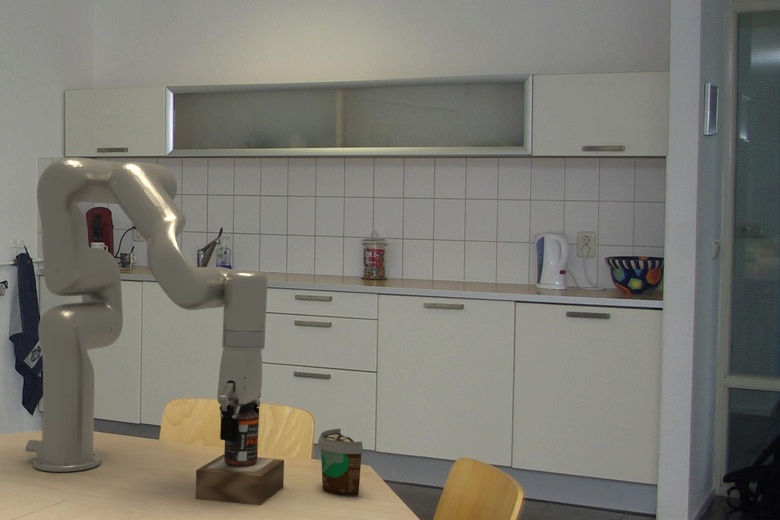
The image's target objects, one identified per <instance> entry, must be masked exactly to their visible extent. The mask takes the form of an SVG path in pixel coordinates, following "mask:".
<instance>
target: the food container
mask: <svg viewBox="0 0 780 520" xmlns="http://www.w3.org/2000/svg"><path fill="white" fill-rule="evenodd" d="M316 445H317V448H318V449H320V460H321V461H320V462H321V478H322V479H321V480H322V482H321V483H322V490H323V491H324V492H325V493H327V494H330V495H336V496H342V497H356V496H357V495H360V484H361V483H360V478H361V468H362V467H361V464H362V463H361V461H362V454H364V448H363V447H364V446H363V441H354V440H353V439H352V438H351V437H349V436H345V435H343V434H341V428H333V429H327V430H324V431H322V432H320V435H319V437H318V441H317V444H316Z"/></svg>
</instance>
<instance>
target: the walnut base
mask: <svg viewBox="0 0 780 520" xmlns="http://www.w3.org/2000/svg"><path fill="white" fill-rule="evenodd" d="M284 473H285V459H280V458H279V459H278V458H270V457H268V458H267V457H258V456H257V462H256V463H255V464H253V465H249V466H232V465H228V464H226V463H225V461H224V453H223V454H222V455H220V456H218V457H216V458H215V459H213V460H211V461H210V462H208V463H206V464H204V465H203V466H201V467H199V468H197V469H196V470H195V499H197V500H208V501H209V500H210V501H218V502H227V503H237V504H249V505H256V506H261V505H262V504H263V503H265V502H266V501H267V500H269V498H271V497H272V496H274V495H275V494H277V492H279V491H280V490H281V489H282V488H284V484H285V483H284V480H285V478H284V477H285V474H284Z"/></svg>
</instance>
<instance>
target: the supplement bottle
mask: <svg viewBox="0 0 780 520" xmlns="http://www.w3.org/2000/svg"><path fill="white" fill-rule="evenodd" d="M253 408H254V401H251V402H249V403H247V404H245V405H243V406H240V409H239V413H238V416H237V418H239V437H238V440H237V441H226V440H224V450H223V451H224V453H223V454H224V461H225V463H226V464H228V465H232V466H249V465H253V464H255V463H256V462H257V457H258V453H259V452H258V448H259V428H258V424H259V423H260V415H259V416H258V414H257V413H256V412H255V411H254V409H253ZM232 409H233V410H234V406H232Z"/></svg>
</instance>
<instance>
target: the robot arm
mask: <svg viewBox="0 0 780 520" xmlns="http://www.w3.org/2000/svg"><path fill="white" fill-rule="evenodd" d="M177 192H178V184H177V180H176V178H175V176H174V174H173V173H172V172H171V170H169V168H167V167H165V166H164V165H161V164H158V163H153V162H152V163H151V162H141V161H132V160H131V161H124V162H118V161H111V160H110V161H109V160H102V159H101V160H100V159H94V158H88V157H87V158H86V157H78V156H77V157H74V156H73V157H71V156H70V157H63V158H60V159H56V160H55V161H53V162H51V163H50V164H48V166H47V167H46V168H45V169H44V170H43V171H42V173H41V175H40V176H39V179H38V182H37V186H36V201H37V208H38V213H39V218H40V223H41V245H42V246H41V247H42V264H43V278H44V284H45V287H46V288H47V291H49V292H50V293H51V294H53V295H54V296H58V297H79V296H80V297H81V302H80V301H79V302H70V303H69V302H68V303H62V304H58V305H54V306H52V307H51V308H49V309H48V310H46V311H45V312H44V314H43V315H41V317H40V319H39V323H38V329H37V330H38V340H39V344H40V350H41V356H42V427H41V428H42V430H41V432H42V434H41V436H42V437H41V440H38V439H37V440H36V439H29V440H28V441H27V443H26V446H25V451H26V452H29V453H36V457H35V458H34V459H33V462H32V463H33V464H32V465H33V467H34V468H35V469H37V470H41V471H45V472H54V473H59V472H60V473H65V472H77V471H78V472H79V471H84V470H89V469H92V468H95V467H98V466H99V465H100V464H101V463H102V456H101V455H100V454H98V453H97V452H94V426H95V424H94V423H95V422H94V421H95V417H94V416H95V413H94V412H95V370H94V366H93V362H92V360H91V358H90V356H89V354H88V350H95V349H101V348H106V347H109V346H111V345H112V344H114V343H116V342H117V341H118V339H119V338H120V336H121V333H122V330H123V323H124V319H123V318H124V315H123V312H124V311H123V297H122V295H123V294H122V278H121V277H122V276H121V270H120V266H119V264H118V262H117V259H115V257H114V256H113V254H112V253H111V252H109V251H108V250H106V249H104V248H101V247H100V248H99V247H90V244H89V237H88V236H89V235H88V234H89V232H88V230H89V229H88V223H87V221H86V218H85V216H84V213H83V212H82V210H81V209H80V207H79V204H80V203H94V204H107V205H108V204H109V205H118V206H119V207H120V208H121V210H122V211H123V212H124V214H125V215H126V217H127V218H128V219H129V221H130V222H131V223H132V225H133V226H134V227H135V230H137V231H138V233H139V234H140V236H141V237H142V239H144V241H145V243H146V258H147V263H148V267H149V269H150V272H151V274H152V276H153V278H154V280H155V281H156V283H157V284H158V285H159V287H160V288H161V289H162V291H163V292H164V294H166V296H167V297H168V299H170V300H171V302H173V303H174V304H175V305H176V306H178V307H179V308H180V309H184V310H186V311H197V310H204V309H214V308H215V309H217V308H223V318H222V320H223V323H222V341H221V342H222V344H221V345H222V346H221V347H222V353H221V360H220V365H219V374H218V384H217V395H216V396H217V400H216V401H217V402H218V403H217V404H220V406H219V410H220V415H219V417H220V430H219V431H220V435H219V439H220V440H221V441H225V440H226V441H237V440H238V437H239V418H237V416H238V413H239V409H240V406H243V405H245V404H247V403H249V402H251V401H254V408H253V409H254V411H255V412H256V413H257V414H258V416H259V417H260V406H261V400H260V398H261V396H262V383H263V380H262V379H263V359H262V358H263V356H262V355H263V354H262V350H264V349H265V347H266V346H265V344H266V341H265V340H266V322H267V321H266V320H267V303H268V302H267V299H268V297H267V296H268V278H267V276H266V274H265V273H263V272H261V271H256V270H236V269H233V268H232V269H231V268H227V267H224V266H201V267H200V266H196V267H195V266H194V265H193V264H192V263H191V262H190V261H189V258H187V256H186V255H185V254H184V252H183V251H182V250H181V248H180V246H179V243H178V241H177V237H178V236H179V235H180V234H181V233H182V232H183V230H184V229H185V226H186V223H187V219H186V216H185V215H184V213H183V212H182V210H181V209H180V208H179V207H178V205H177V203H175V202H174V200H175V198H176V195H177ZM232 406H234V410H233V409H232ZM259 427H260V425H259V424H258V429H259Z"/></svg>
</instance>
